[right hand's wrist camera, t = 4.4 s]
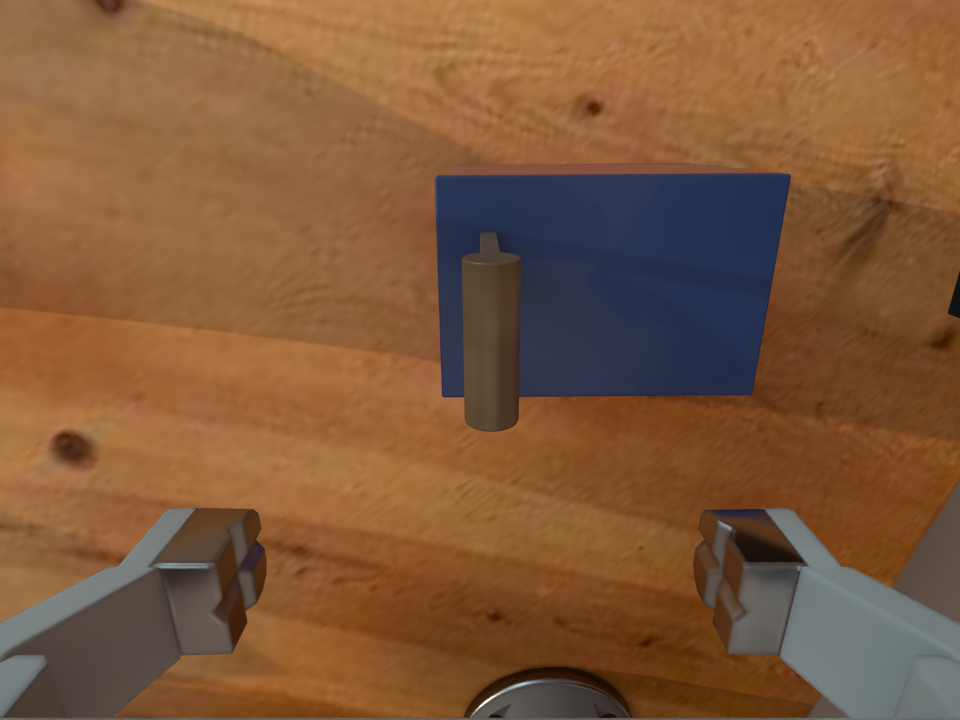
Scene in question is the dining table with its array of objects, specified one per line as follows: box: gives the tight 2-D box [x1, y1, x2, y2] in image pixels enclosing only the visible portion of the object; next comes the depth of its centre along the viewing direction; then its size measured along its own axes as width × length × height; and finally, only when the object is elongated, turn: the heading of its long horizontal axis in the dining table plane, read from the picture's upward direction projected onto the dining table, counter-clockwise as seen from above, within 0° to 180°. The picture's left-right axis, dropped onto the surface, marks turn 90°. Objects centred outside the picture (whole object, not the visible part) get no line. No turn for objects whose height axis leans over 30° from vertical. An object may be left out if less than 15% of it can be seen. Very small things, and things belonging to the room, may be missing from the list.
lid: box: [435, 173, 791, 432], centre depth 22 cm, size 14×10×8 cm
